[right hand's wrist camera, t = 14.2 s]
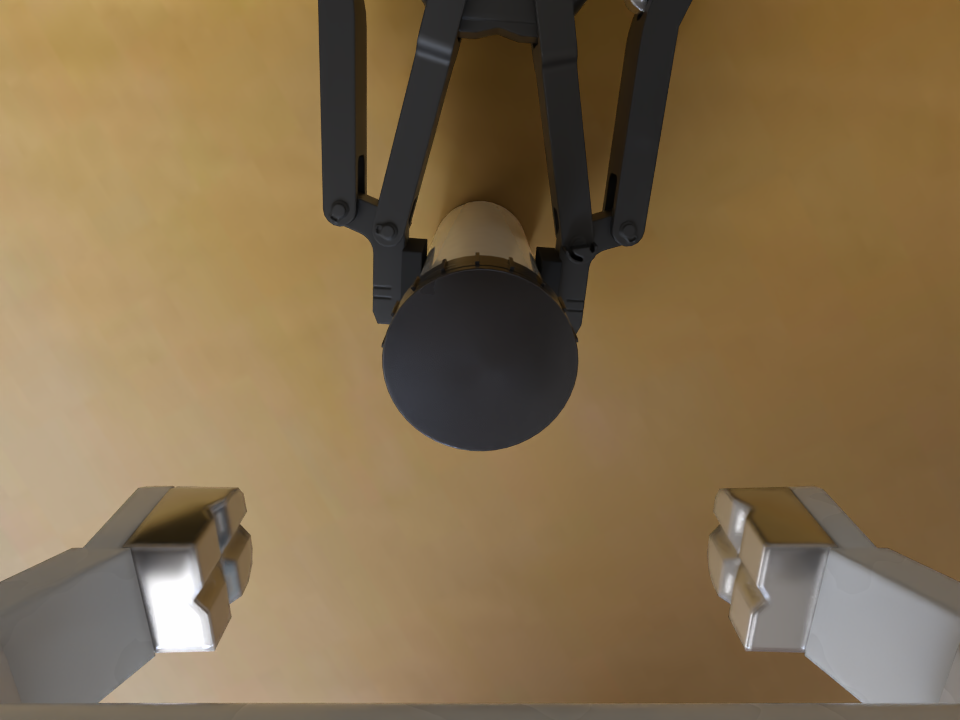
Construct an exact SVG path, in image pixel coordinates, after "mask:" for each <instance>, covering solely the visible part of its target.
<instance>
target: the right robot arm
mask: <svg viewBox="0 0 960 720" xmlns="http://www.w3.org/2000/svg"><path fill="white" fill-rule="evenodd" d="M246 512H247V509H246V504H245V499H244V494H243V492H242V491H241V490H240V489H239V488H231V487H181V486H177V487H174V486H146V487H141V488H138V489H137V490H136V491H135V492H134V493H133V494H132V495H131V496H130V497H129V498H128V500H127V501H126V502H125V503H124V504H123V505H122V506H121V507H120V508H119V509H118V510H117V511H116V513H115V514H114V515H113V516H112V517H111V518H110V519H109V520H108V521H107V522H106V523H105V524H104V526H103V527H102V528H101V529H100V530H99V531H98V532H97V533H96V534H95V535H94V536H93V537H92V539H91V540H90V541H89V542H88V543H87V544H86V545H85V546H84V547H83V548H71V549H69V550H67V551H65V552H63V553H61V554H59V555H56V556H54V557H52V558H50V559H48V560H46V561H44V562H42V563H39V564H37V565H35V566H33V567H31V568H29V569H27V570H25V571H22V572H20V573H18V574H16V575H14V576H12V577H10V578H8V579H6V580H3V581H1V582H0V720H960V582H959V581H956V580H954V579H952V578H950V577H948V576H946V575H944V574H942V573H940V572H937V571H935V570H933V569H931V568H929V567H927V566H925V565H923V564H920V563H918V562H916V561H914V560H912V559H910V558H908V557H906V556H904V555H901V554H899V553H897V552H895V551H893V550H891V549H889V548H877V547H876V546H875V545H874V544H873V543H872V542H871V541H870V540H869V539H868V537H867V536H866V535H865V534H864V533H863V532H862V531H861V530H860V529H859V528H858V527H857V526H856V524H855V523H854V522H853V521H852V520H851V519H850V518H849V517H848V516H847V515H846V514H845V513H844V511H843V510H842V509H841V508H840V507H839V506H838V505H837V504H836V503H835V502H834V501H833V500H832V498H831V497H830V496H829V495H828V494H827V493H826V492H825V491H824V490H823V489H821V488H819V487H817V486H795V487H768V488H728V489H719V491H718V493H717V495H716V497H715V503H714V509H713V512H714V514H715V516H716V517H717V519H718V521H719V523H720V525H719V526H718V527H717V528H716V529H715V530H714V531H713V532H712V533H711V534H710V535H709V543H708V551H707V556H708V568H709V573H710V577H711V581H712V584H713V586H714V588H715V590H716V592H717V595H718V596H719V597H721V598H722V599H724V600H725V601H727V602H728V603H729V604H731V605H730V611H729V619H730V621H731V623H732V625H733V627H734V629H735V631H736V633H737V635H738V637H739V639H740V641H741V643H742V645H743V647H744V649H745V651H763V652H799V653H805V656H806V657H807V658H808V659H810V660H811V661H812V662H813V663H814V664H816V665H817V666H818V667H819V668H820V669H822V670H823V671H824V672H825V673H827V674H828V675H829V676H830V677H831V678H833V679H834V680H835V681H836V682H838V683H839V684H840V685H841V686H842V687H844V688H845V689H846V690H847V691H848V692H850V693H851V694H852V695H853V696H855V697H856V698H857V699H858V700H859V701H861V702H862V703H98V702H100V701H101V700H102V699H103V698H104V697H106V696H107V695H108V694H109V693H111V692H112V691H113V690H114V689H115V688H117V687H118V686H119V685H120V684H122V683H123V682H124V681H125V680H126V679H128V678H129V677H130V676H131V675H132V674H134V673H135V672H136V671H137V670H139V669H140V668H141V667H142V666H143V665H145V664H146V663H147V662H148V661H150V660H151V659H152V658H153V657H154V656H155V653H160V652H195V651H215V649H216V647H217V645H218V643H219V641H220V639H221V637H222V635H223V633H224V631H225V629H226V627H227V625H228V623H229V621H230V619H231V611H230V605H229V604H231V603H232V602H233V601H235V600H236V599H238V598H239V597H241V596H242V595H243V592H244V590H245V588H246V586H247V584H248V581H249V577H250V572H251V567H252V542H251V535H250V534H249V533H248V532H247V531H246V530H245V529H244V528H243V527H242V526H241V525H240V523H241V521H242V519H243V517H244V516H245V514H246Z"/></svg>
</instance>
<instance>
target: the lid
mask: <svg viewBox="0 0 960 720" xmlns="http://www.w3.org/2000/svg"><path fill="white" fill-rule="evenodd" d="M567 311H568V310H567V308H566V306H565V304H564V301H563V299H562V297H561V296H560V297H557V295H556V294H555V292H554V291H553V289H552V288H551V287H550V286H549V285H548V284H547V283H546V282H545V281H544V279H543V276H542V274H541V273H540V272H538V274H536V273H535V272H533V271H532V270H530V269H528V268H527V267H525V266H523V265H521V264H519V263H517V262H514V261H513V258H512V257H509V259H505V258H501V257H495V256H486V255H480V253H479V252H476V253H475V255H474V256H464V257H460V258H456V259H452V260H449V261H447V259H443V260H442V263H441V264H439V265H437V266H436V267H434V268H432V269H430V270H429V271H427V272H426V273H425V274H423V275H422V276H421V277H419V276H416V277H415V278H414V281H413V283H412V285H411V286H410V288H409V289H408V290H407V291H406V293H405V294H404V296H403V297H402V299H401V301H400V302H399V301H397V302H396V304H395V306H394V308H393V310H392V313H391V315H390V316H392V317H393V318H392V321H391V323H390V325H389V328H388V330H387V333H386V335H385V338H384V340H383V343H382V347H383V353H382V367H383V374H384V379H385V383H386V386H387V389H388V392H389V394H390V396H391V398H392V400H393V402H394V404H395V405H396V407H397V408H398V410H399V411H400V413H401V414H402V415H403V416H404V417H405V419H406V420H407V421H408V422H409V423H410V424H411V425H412V426H414V427H415V428H416V429H417V430H418V431H420V432H421V433H423V434H424V435H425V436H427V437H429V438H431V439H433V440H434V441H436V442H439V443H441V444H444V445H446V446H450V447H453V448H457V449H462V450H469V451H491V450H498V449H503V448H507V447H511V446H514V445H517V444H519V443H521V442H524V441H526V440H528V439H530V438H531V437H533V436H535V435H536V434H538V433H539V432H541V431H542V430H543V429H544V428H546V427H547V426H548V425H549V424H550V423H551V422H552V421H553V420H554V419H555V418H556V417H557V416H558V414H559V413H560V412H561V410H562V409H563V408H564V406H565V404H566V403H567V401H568V399H569V397H570V395H571V393H572V390H573V387H574V385H575V380H576V376H577V370H578V349H577V343H576V342H578V338H577V336H576V334H575V331H574V329H573V327H572V325H571V324H570V321H569V319H568V317H567V315H566V312H567Z"/></svg>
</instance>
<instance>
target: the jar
mask: <svg viewBox="0 0 960 720" xmlns="http://www.w3.org/2000/svg"><path fill="white" fill-rule="evenodd" d="M476 252H479V253H480V255H486V256H495V257H501V258H505V259H509V257H512V258H513V261H514V262H517V263H519V264H521V265H523V266H525V267H527V268H528V269H530V270H532V271H533V272H535V273H536V274H538V272H539V271H538V268H537V265H536V262H535V260H534V257H533V254H532V252H531V249H530V246H529V244H528V241H527V238H526V236H525V233H524V230H523V228H522V226H521V224H520V223H519V221H518V220H517V218H516V217H515V216H514V215H513V214H512V213H511V212H510V211H508V210H507V209H505V208H504V207H502V206H500V205H498V204H495V203H492V202H486V201H474V202H469V203H465V204H463V205H460V206H459V207H457V208H455V209H454V210H452V211H451V212H450V213H449V214H448V215H446V216H445V218H444V219H443V220H442V222H441V223H440V225H439V227H438V229H437V231H436V234H435V237H434V239H433V242H432V245H431V247H430V250H429V253H428V255H427V258H426V261H425V263H424V266H423V269H422V272H421V274H420V277H421V276H422V275H423V274H425V273H426V272H427V271H429V270H430V269H432V268H434V267H436V266H437V265H439V264H441V263H442V260H443V259H447V261H449V260H452V259H456V258H460V257H464V256H474V255H475V253H476Z"/></svg>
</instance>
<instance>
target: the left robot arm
mask: <svg viewBox="0 0 960 720" xmlns="http://www.w3.org/2000/svg"><path fill="white" fill-rule="evenodd" d="M422 1H423V3H424V5H425V11H424V15H423V19H422V23H421V27H420V31H419V35H418V40H417V47H416V54H415V58H414V62H413V66H412V70H411V74H410V78H409V82H408V86H407V90H406V94H405V98H404V102H403V106H402V110H401V114H400V118H399V122H398V126H397V130H396V134H395V138H394V142H393V146H392V150H391V154H390V158H389V162H388V166H387V170H386V174H385V178H384V182H383V186H382V190H381V194H380V198H379V200H378V199H376V198H373V197H371V196H369V195H367V25H366V10H365V4H364V0H318V14H319V56H320V97H321V139H322V181H323V211H324V215H325V217H326V218H327V220H328V221H329V222H330V223H332V224H333V225H336V226H345V227H347V228H350V229H352V230H354V231H356V232H359V233H361V234H362V235H364V236H365V237H366V238H367V239H368V240H369V241H370V243H371V245H372V247H373V313H374V315H375V318H376V320H377V323H378V324H390V323H391V321H392V318H393V317H392V316H390V315H391V313H392V310H393V308H394V306H395V304H396V302H397V301H399V302H400V301H401V299H402V297H403V296H404V294H405V293H406V291H407V290H408V289H409V288H410V286H411V285H412V283H413V281H414V278H415V277H416V276H419V277H420V274H421V272H422V269H423V266H424V263H425V261H426V258H427V239H417V238H409V228H410V226H411V224H412V223H411V221H412V217H413V213H414V209H415V206H416V202H417V198H418V195H419V191H420V187H421V184H422V180H423V176H424V173H425V169H426V165H427V161H428V158H429V154H430V150H431V147H432V143H433V139H434V136H435V132H436V128H437V125H438V121H439V117H440V113H441V110H442V106H443V102H444V99H445V95H446V91H447V88H448V84H449V80H450V77H451V73H452V69H453V66H454V63H455V60H456V57H457V54H458V50H459V46H460V42H461V39H462V38H470V39H477V38H482V37H487V36H491V35H501V36H503V37H506V38H508V39H511V40H514V41H516V42H521V43H531V46H532V54H533V62H534V68H535V72H536V78H537V86H538V94H539V102H540V111H541V119H542V127H543V135H544V144H545V152H546V160H547V168H548V176H549V185H550V193H551V201H552V209H553V217H554V226H555V234H556V238H557V239H556V248H546V247H537V248H536V258H535V262H536V265H537V268H538V271H539V272H540V273H541V274H542V276H543V279H544V281H545V282H546V283H547V284H548V285H549V286H550V287H551V288H552V289H553V291H554V292H555V294H556V295H557V297H560V296H561V297H562V299H563V301H564V304H565V306H566V308H567V310H568V311H567V312H566V315H567V317H568V319H569V321H570V324H571V325H572V327H573V329H574V331H575V334H577V332H578V330H579V328H580V326H581V324H582V316H583V309H584V300H585V294H586V286H587V279H588V271H589V266H590V263H591V261H592V260H593V259H594V258H595V256H596V255H597V254H598V253H599V252H601V251H604V250H607V249H610V248H614V247H617V246H621V245H623V246H632V245H634V244H636V243H638V242H639V241H640V240H641V238H642V237H643V234H644V231H645V225H646V219H647V213H648V207H649V201H650V195H651V189H652V183H653V177H654V171H655V165H656V159H657V153H658V147H659V141H660V136H661V130H662V124H663V118H664V112H665V106H666V100H667V94H668V88H669V82H670V76H671V70H672V64H673V58H674V52H675V46H676V40H677V34H678V28H679V25H680V23H681V21H682V19H683V17H684V15H685V13H686V11H687V9H688V7H689V6H690V4H691V2H692V0H624V2H625V5H626V7H627V8H628V10H630V11H631V12H632V13H634V14H635V15H634V17H633V20H632V23H631V27H630V30H629V33H628V38H627V43H626V49H625V56H624V63H623V70H622V77H621V84H620V91H619V98H618V105H617V112H616V119H615V126H614V133H613V140H612V147H611V154H610V161H609V168H608V175H607V182H606V189H605V196H604V203H603V210H602V212H599V213H595V214H592V212H591V202H590V192H589V182H588V172H587V162H586V152H585V142H584V132H583V122H582V112H581V102H580V92H579V82H578V72H577V40H576V30H575V20H574V16H575V15H576V14H577V12H578V11H579V10H580V8H581V7H582V6H583V5H584V3H585V2H586V1H587V0H422Z"/></svg>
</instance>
